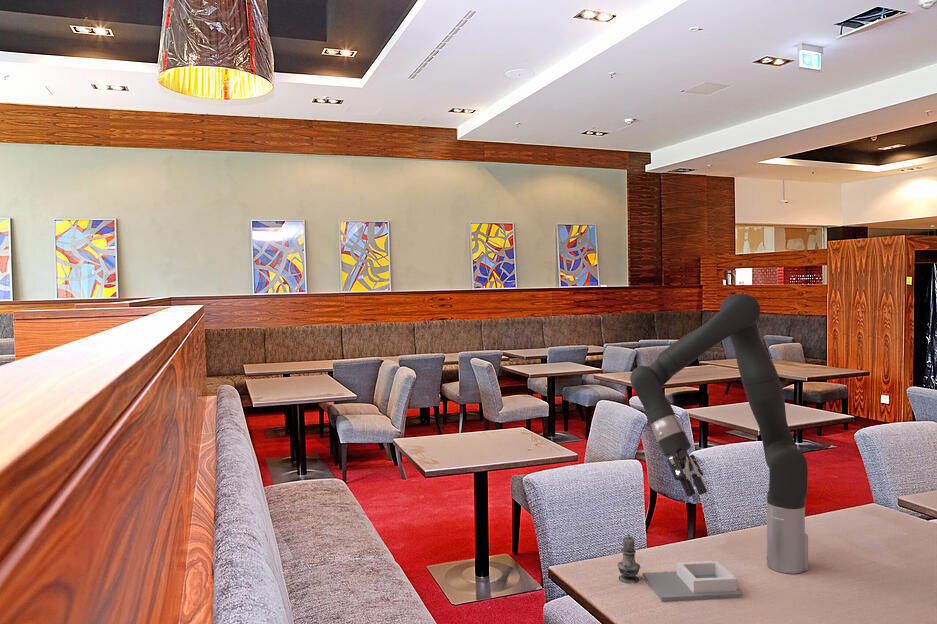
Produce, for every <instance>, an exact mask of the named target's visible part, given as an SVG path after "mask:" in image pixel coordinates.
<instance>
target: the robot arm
mask: <svg viewBox="0 0 937 624" xmlns="http://www.w3.org/2000/svg"><path fill="white" fill-rule="evenodd" d="M760 315H761V305H760V303H759V301H758V300H757V299H756V298H755V297H753V296H752V295H750V294H748V293H747V294H746V293H735V294H734V293H733V294H730V295H728V296H726V297H725V298H724V299H723V300H722V302H721V304H720V308H719V311H718V312H717V313H716V314H715V315H714V316H713V317H712V318H711V319H709V320H708V321H707V322H705V323H704V324H703V325H701V326H699V327H698V328H696V329H695V330H693V331H691V332H689V333H687V334H686V335H684V336H682V337H681V338H680V339H678V340H677V341H675V342H673V343H672V344H671V345H669V346H668V347H667V348H665V349H664V350H663V351H661V352H660V353H659V354H658V355H657V357H656V360H654V361H653V362H652V363H651V364H649V365H648V366H647V365H638V366H637V367H635V368H633V370H632V371H631V372H630V378H629V379H630V383H631V386H632V388H633V391H634V392H635V394H636V396H637V398H638V399H639V401H640V403H641V404H642V405H641V406H643V409H644V412H645V415H646V417H647V419H648V421H649V423H650V426H651V429H652V432H653V434H654V437H655V439H656V441H657V443H658V446H659V448H660V450H661V453H662V455H663V457H665V458H666V462H667V464H668V467H669V468H670V471H671V473H672V476H673V477H674V480H675V481H678V482H679V483H680V484H681V486H682V489H683V490H684V493H685V494H686V495H685V496H687V497H688V498H689V497H692V496H694V495H696V491H697V493H698V495H699V496H701V495H705V494H707V492H708V490H707V488H706V486H705V483H704V480H703V476H704V473H703V471H702V469H701V466H700V464H699V463H698V461H697V459H696V456H695V455H694V454H691V455H690V454H689V453H688V450H690V449H691V448H692V445H691V443H690V440H689V438H688V436H687V434H686V432H685V430H684V428H683V425H682V423H681V421H679V418H678V417H677V415H676V413H675V410H674V408H673V406H672V405H671V403H670V400H669V399H668V398H667V397H666V395H665V394H664V391H663V389H662V387H663V386H665V385H666V384H667V383H668V381H670V380H671V379H672V378H673V377H674V376H675V375H676V374H678V373H680V371H682V370H684V369H685V368H686V367H688V366H689V365H691V364H692V363H693V362H695V361H696V360H697V359H699V358H700V357H701V356H702V355H704V354H705V353H706V352H707V351H710V349H712V348H713V347H714V346H715V345H717V344H719V343H721V342H723V340H726V339H727V338H730V340H731V341H730V342H731V344H732V346H733V349H734V354H735V358H736V363H737V367H738V372H739V375H740V378H741V382H742V387H743V389H744V393H745V396H746V399H747V401H748V404H749V407H750V409H751V412H752V414H753V416H754V419H755V421H756V423H757V426H758V429H759V433H760V436H761V437H760V438H761V440H762V441H761V442H762V446H763V447H762V448H763V452H764V458H765V463H766V466H767V467H768V469H769V474H768V475H769V479H768V480H769V484H768V490H767V492H766V499H767V500H766V565H767V567H768V568H770V569H772V570H774V571H776V572H778V573H784V574H791V575H792V574H795V575H796V574H801V573H803V572H805V571H809V535H808V534H807V533H806V531H805V529H806V499H807V495H808V480H809V479H808V478H809V477H808V475H809V471H808V470H809V469H808V461H807V458H806V456H805V454H803V452H802V451H801V450H800V449H799V448H798V446H797V444H796V442H795V440H794V437H793V435H792V433H791V430H790V427H789V424H788V420H787V414H786V413H787V412H786V411H787V410H786V401H785V395H784V391H783V386H782V383H781V381H780V377H779V373H778V371H777V369H776V367H775V364H774V361H773V360H772V359H771V357H770V355H769V353H768V351H767V349H766V348H765V346H764V343H763V342H762V340H761V337H760V333H759V330H758V324H757V321H758V319H759V318H760ZM690 479H691V480H692V481H691V480H690ZM692 482H693V484H692ZM693 485H694V486H693ZM694 487H695V488H694Z"/></svg>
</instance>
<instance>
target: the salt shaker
mask: <svg viewBox="0 0 937 624" xmlns="http://www.w3.org/2000/svg"><path fill="white" fill-rule="evenodd" d="M622 547H623V548H622V550H621V552H622V560H621V561H619V562H618V563H617V565H616V566H617V567H618V571H619V573H620V574H621V575H619V576H618V578H619V579H618V580H619V581H620V582H621V583H623V584H624V583H625V584H629V585H630V584H632V583H633V584H636V583H639V582H640V578H639V577H638V576H637V575H638V574H639V572H640V569H641V565H640V564H639V563H637V562H636V556H635V555H636V553H637V551H636V550H635V538H633V537H631V534H630V533H628V534H627V535H626V536H625V537H623V539H622ZM638 581H639V582H638ZM633 584H632V585H633Z"/></svg>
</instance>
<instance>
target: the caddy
mask: <svg viewBox="0 0 937 624" xmlns="http://www.w3.org/2000/svg"><path fill="white" fill-rule="evenodd" d="M643 577H644V578H643ZM642 578H643V579H644V580H645V582H646V581H647V582H648V583H647V582H646V583H647V585H648V586H649V585H650V586H649V587H650V588H651V590H652V589H653V590H654V591H653V590H652V591H653V592H654V593H655V595H656V596H657V597H658V598H659V600H660V601H661V602H678V601H679V602H681V601H698V600H699V601H700V600H703V601H704V600H721V599H742V598H743V593H742V592H741V591H740V590H739V589H738V588H737V587H738V585H737V584H738V583H737V582H738V581H737V580H738V579H737V578H736V577H735V575H733V574H732V573H731V572H730V571H729V570H728V569H727V568H726V567H724V565H722V564H721V563H720V562H719V561H718V560H712V561H711V560H707V561H705V560H704V561H687V562H683V561H682V562H676V571H660V572H657V571H655V572H642Z"/></svg>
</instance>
